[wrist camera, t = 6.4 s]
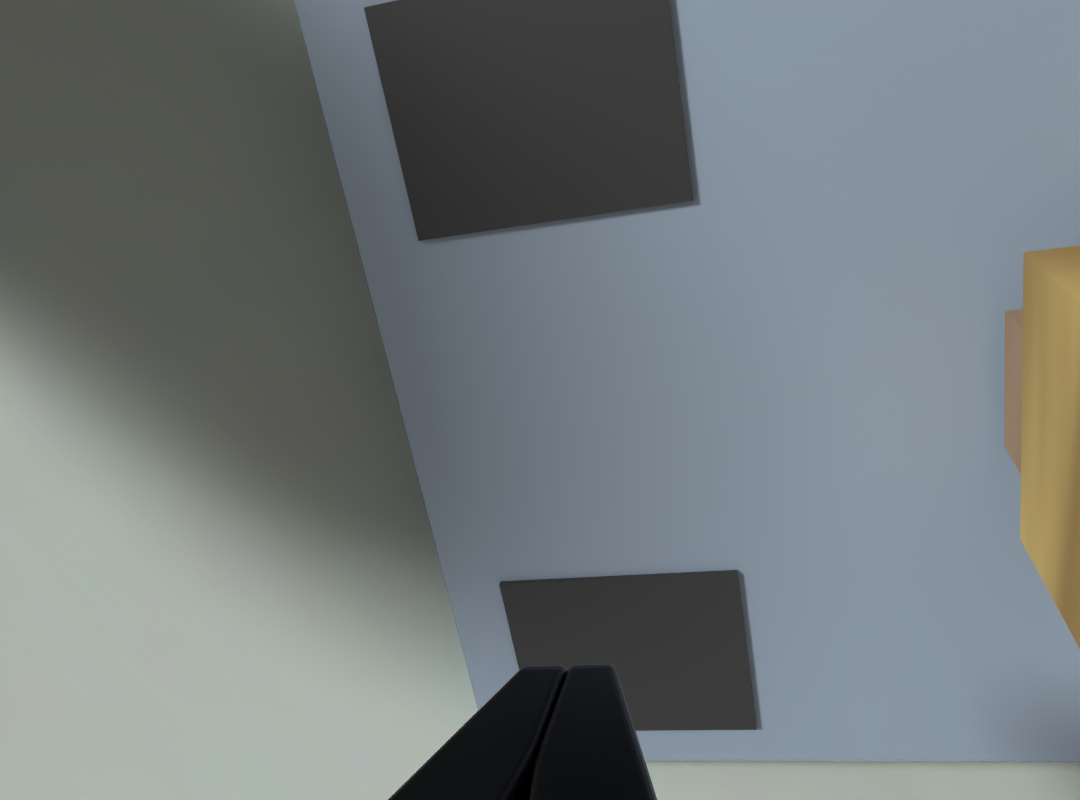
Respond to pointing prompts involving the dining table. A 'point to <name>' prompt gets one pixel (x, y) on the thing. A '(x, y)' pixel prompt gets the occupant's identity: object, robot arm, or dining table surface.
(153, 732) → the dining table surface
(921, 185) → the pale blue flat board
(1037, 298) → the tan u-shaped piece
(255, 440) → the dining table surface
